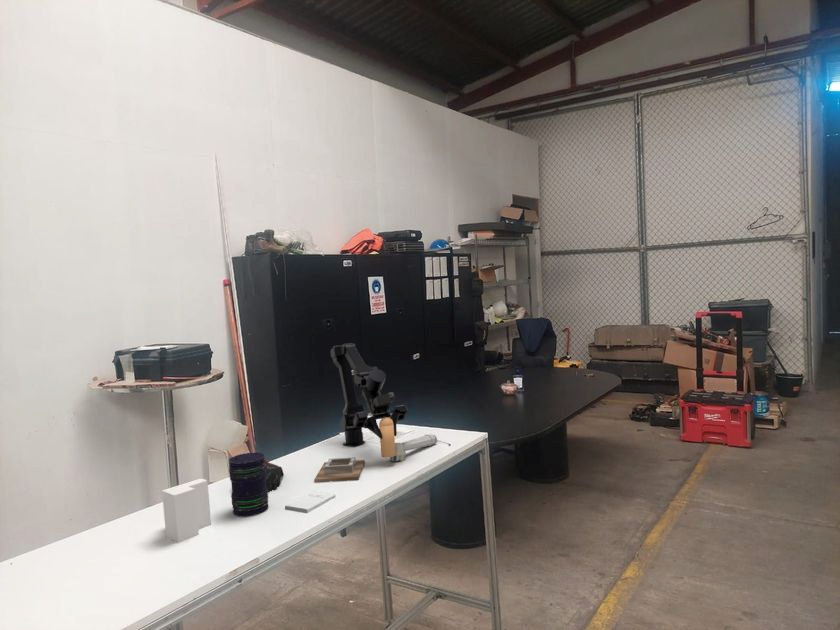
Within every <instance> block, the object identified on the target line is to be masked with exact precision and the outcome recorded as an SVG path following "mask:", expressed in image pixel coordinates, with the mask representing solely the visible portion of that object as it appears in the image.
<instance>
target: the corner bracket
mask: <svg viewBox="0 0 840 630" xmlns="http://www.w3.org/2000/svg"><path fill="white" fill-rule="evenodd" d="M161 493H162V494H161V495H162V496H161V497H162V506H163V508H162V509H163V517H164V518H163V520H164V529H165V537H167V538H168V539H170V540H172V541H175V542H176V543H178V544H179V543H181V542H185V541H186V540H189V539H191V538H195V537H197V536H199V535H200V534H199V530H201V529H204V528H206V527H209V526H211V525H212V520H211V519H212V518H211V516H212V515H211V505H210V495H209V483H208V480H207V479H204V478H198V479H195V480H191V481H189V482H186V483H183V484H178V485H176V486H173V487H169V488H166V489H163V490H161Z"/></svg>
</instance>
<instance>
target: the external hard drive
mask: <svg viewBox="0 0 840 630" xmlns="http://www.w3.org/2000/svg"><path fill="white" fill-rule="evenodd" d="M335 498H336V494H335V493H330V492H323V491H318V490H313V491H312V492H310V493H308V494H306V495H304V496H302V497H300V498H298V499H297V500H294V501H293V502H290V503H289V504H286V505H285V506H284V509H285V510H288V511H293V512H294V511H295V512H300V513H305V514H308V513H310V512H312V511H314V510H315V509H317V508H320V507H322V506H323V505H324V504H326V503H328V502H330V501H331V499H332V500H334V499H335ZM329 500H330V501H329Z"/></svg>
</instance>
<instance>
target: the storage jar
mask: <svg viewBox="0 0 840 630" xmlns="http://www.w3.org/2000/svg"><path fill="white" fill-rule="evenodd" d="M265 457H266V456H265V454H264V453H261V452H248V453H241V454H237V455H234V456H232V457H230V458H228V464H229V465H228V466H229V467H228V474H229V481H230V483H231V493H230V494H231V495H230V497H231V505H232V509H233V510H232V514H233V515H234V516H236V517H240V518H245V517H246V518H247V517H248V518H249V517H254V516H257V515H260V514H262V513H263V514H264V513H265V512H267V510H268V509H269V493H268V490H267V487H266V480H265V475H266V464H265Z"/></svg>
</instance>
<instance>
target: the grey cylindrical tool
mask: <svg viewBox="0 0 840 630" xmlns="http://www.w3.org/2000/svg"><path fill="white" fill-rule="evenodd" d="M437 442H438V438H437V436H436V435H435V434H424V435H423V436H420V437H417V438H416V437H415V438H413V439H410V440H407V441H402V442H395V454H396V455H395V456H393V457H389V460H390V462H398V461H400V462H403V461H405V459H406V458H405V455H407V451H413V450H416V449H421V448H426V447H428V446H430V447H431V446H434V445H436V444H437ZM435 443H436V444H435ZM433 444H434V445H433Z"/></svg>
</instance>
